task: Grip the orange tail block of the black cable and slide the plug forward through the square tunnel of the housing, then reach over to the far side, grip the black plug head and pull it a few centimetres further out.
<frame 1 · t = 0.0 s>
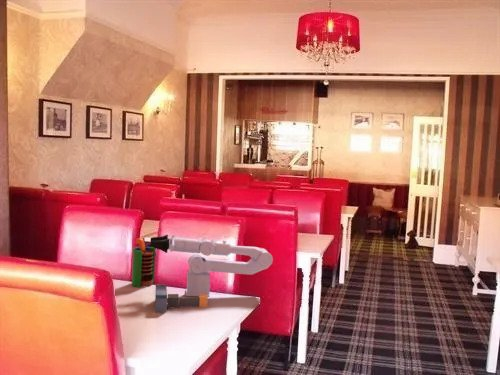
hand: (150, 242, 195), 22 cm above the table, tool horizontal, fingers open, 7 cm apart
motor: (142, 284, 211), on the table
housing: (160, 306, 183), on the table
plug: (172, 305, 184), on the table
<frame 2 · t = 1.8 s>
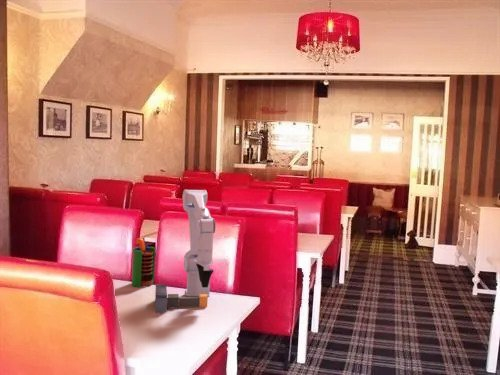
hand: (203, 284, 186), 8 cm above the table, tool pointing down, fingers open, 7 cm apart
nothing on the table moved.
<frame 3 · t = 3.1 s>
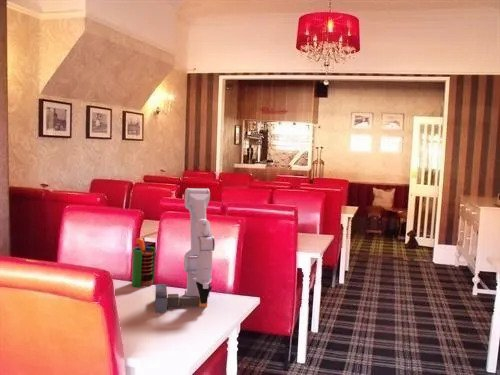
hand: (203, 301, 186), 1 cm above the table, tool pointing down, fingers closed on plug, 3 cm apart
plug: (172, 305, 184), on the table, touching gripper
everything else where it was.
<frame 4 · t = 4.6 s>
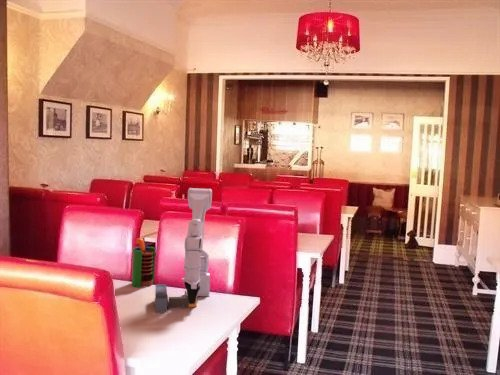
hand: (191, 302, 185), 1 cm above the table, tool pointing down, fingers closed on plug, 3 cm apart
plug: (161, 306, 183), on the table, touching gripper
everything else where it was.
when the fingers open (1 cm above the table, at t = 6.3 s): plug stays where it is, on the table.
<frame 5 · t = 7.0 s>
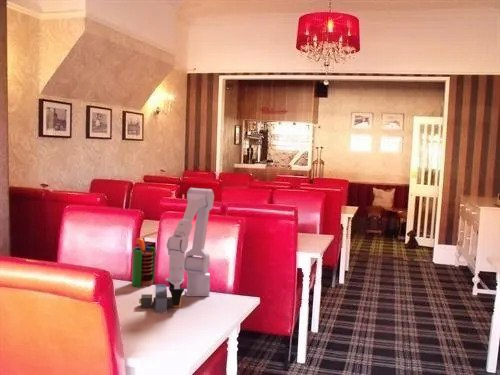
hand: (175, 302, 184), 1 cm above the table, tool pointing down, fingers open, 7 cm apart
plug: (146, 306, 182), on the table
everything else where it was.
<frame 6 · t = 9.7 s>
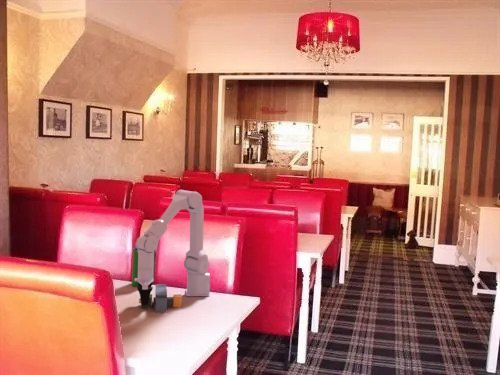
hand: (144, 302, 182), 1 cm above the table, tool pointing down, fingers closed on plug, 4 cm apart
plug: (146, 306, 182), on the table, touching gripper
everything else where it was.
when the fingers open (1 cm above the table, at t = 11.2 s): plug stays where it is, on the table.
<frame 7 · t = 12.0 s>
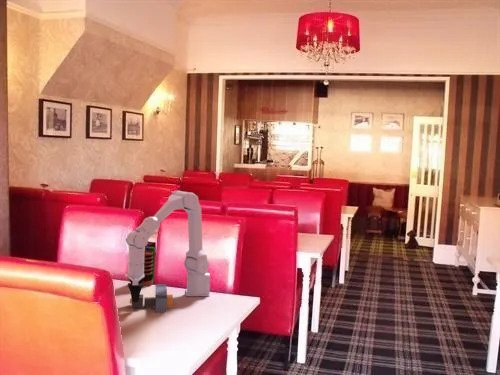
hand: (135, 298, 181), 3 cm above the table, tool pointing down, fingers open, 7 cm apart
plug: (137, 306, 181), on the table
everything else where it was.
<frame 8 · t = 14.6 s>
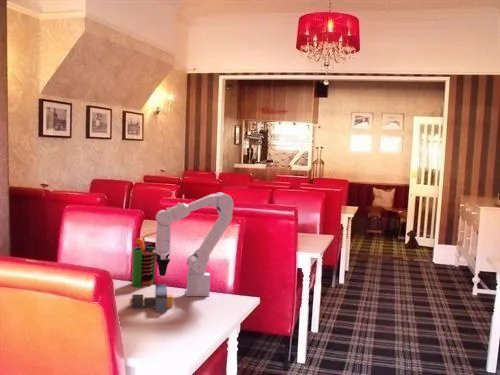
hand: (162, 273, 195), 9 cm above the table, tool pointing down, fingers open, 7 cm apart
nothing on the table moved.
at the end: plug 1.6 cm from the target spot, on the table; plug tilted 0°; the gripper is holding nothing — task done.
